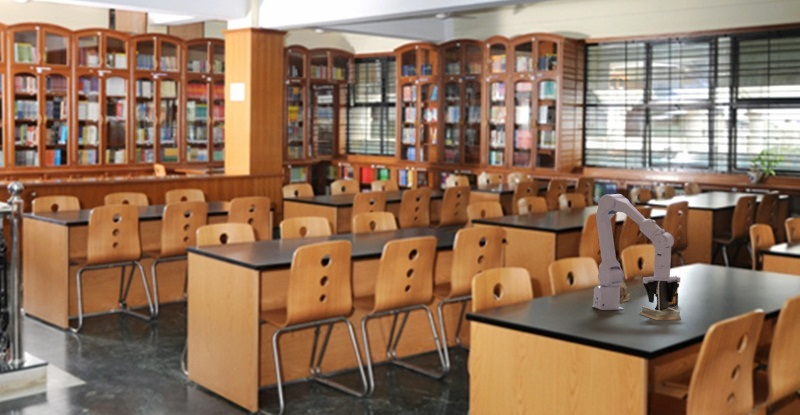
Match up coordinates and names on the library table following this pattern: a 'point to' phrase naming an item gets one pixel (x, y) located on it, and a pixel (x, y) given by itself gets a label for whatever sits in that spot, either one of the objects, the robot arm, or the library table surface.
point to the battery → (662, 295)
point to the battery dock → (661, 313)
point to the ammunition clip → (674, 299)
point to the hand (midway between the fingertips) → (660, 302)
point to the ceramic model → (624, 293)
